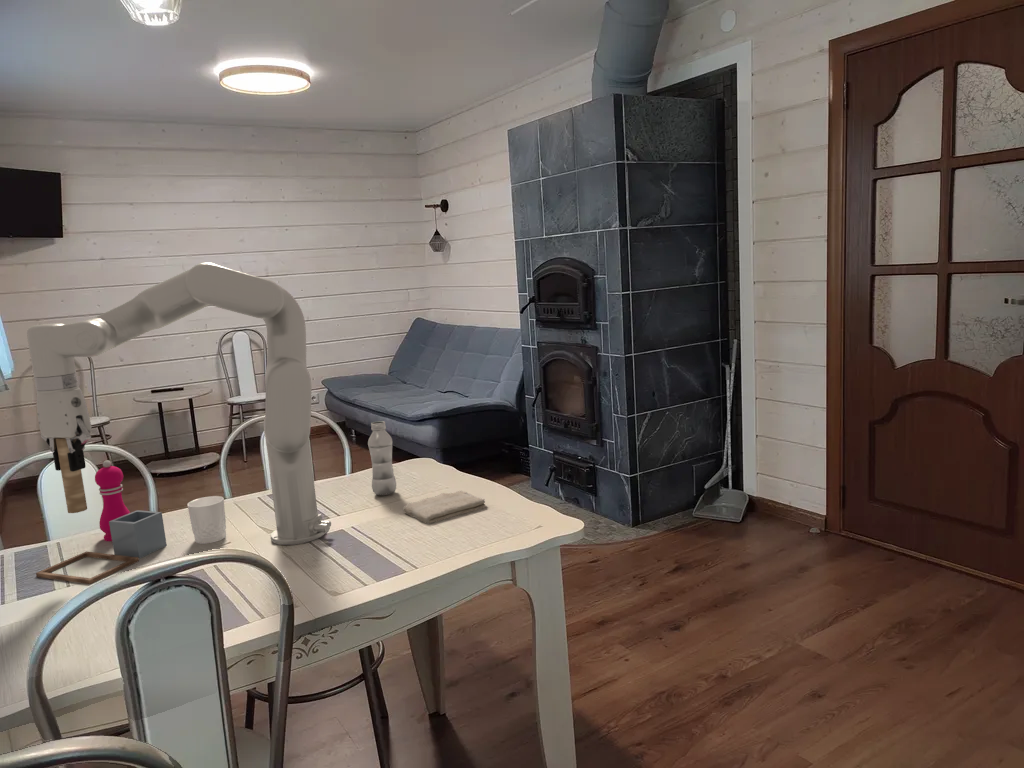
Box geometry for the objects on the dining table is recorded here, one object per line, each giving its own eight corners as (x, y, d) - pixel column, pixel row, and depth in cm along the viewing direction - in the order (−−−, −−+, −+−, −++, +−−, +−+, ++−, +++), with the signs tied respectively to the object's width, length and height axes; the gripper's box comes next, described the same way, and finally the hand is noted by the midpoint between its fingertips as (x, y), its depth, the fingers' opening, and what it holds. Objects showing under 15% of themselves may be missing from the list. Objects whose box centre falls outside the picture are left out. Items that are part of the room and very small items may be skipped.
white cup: (185, 547, 171) (179, 506, 170) (210, 534, 178) (204, 495, 177) (212, 549, 168) (206, 507, 167) (236, 537, 176) (231, 496, 174)
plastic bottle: (376, 490, 205) (369, 420, 202) (400, 490, 204) (393, 419, 201) (369, 498, 199) (361, 425, 195) (393, 497, 198) (386, 424, 194)
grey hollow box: (167, 549, 170) (161, 512, 169) (140, 562, 163) (133, 523, 162) (142, 546, 173) (137, 510, 172) (115, 559, 166) (108, 521, 165)
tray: (139, 565, 162) (138, 557, 162) (91, 588, 151) (89, 580, 151) (87, 558, 168) (86, 551, 168) (37, 581, 157) (35, 573, 157)
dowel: (91, 508, 158) (79, 435, 156) (76, 513, 155) (63, 439, 152) (79, 507, 159) (67, 434, 157) (63, 512, 156) (51, 439, 154)
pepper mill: (128, 532, 184) (115, 455, 181) (141, 538, 180) (128, 458, 176) (97, 542, 179) (84, 462, 175) (110, 548, 174) (96, 466, 171)
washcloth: (489, 508, 185) (488, 496, 185) (427, 527, 175) (425, 514, 174) (463, 498, 195) (462, 487, 194) (403, 515, 184) (401, 503, 184)
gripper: (101, 380, 153) (114, 466, 156) (46, 380, 159) (59, 462, 162) (68, 386, 146) (82, 476, 149) (11, 386, 152) (26, 472, 155)
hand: (70, 468), depth 156 cm, fingers closed on dowel, 3 cm apart
